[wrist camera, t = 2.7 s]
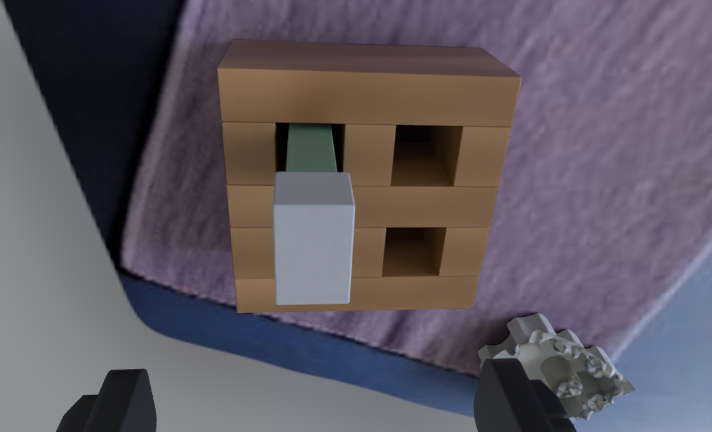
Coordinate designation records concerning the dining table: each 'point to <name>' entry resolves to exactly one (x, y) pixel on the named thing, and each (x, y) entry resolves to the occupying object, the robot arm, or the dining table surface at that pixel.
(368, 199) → the holder
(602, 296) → the dining table surface
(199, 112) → the dining table surface
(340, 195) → the green bar with cap
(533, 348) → the egg carton
